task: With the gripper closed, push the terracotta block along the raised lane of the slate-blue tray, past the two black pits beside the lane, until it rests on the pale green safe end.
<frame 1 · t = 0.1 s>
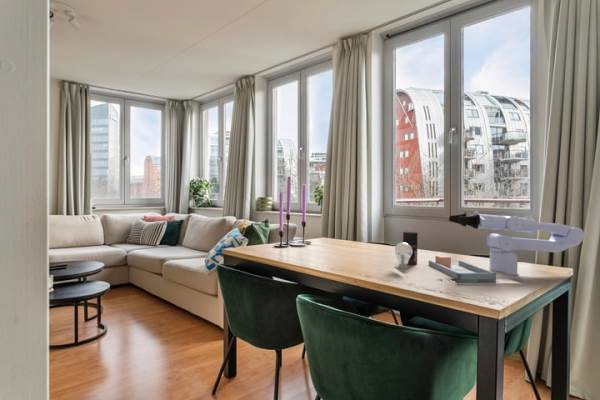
hand: (453, 219, 150), 22 cm above the table, tool horizontal, fingers open, 7 cm apart
block: (443, 267, 155), point 1 cm above the table, touching trap box
light bulb: (403, 272, 153), on the table
trap box: (459, 275, 147), on the table
deodorant: (409, 267, 162), on the table
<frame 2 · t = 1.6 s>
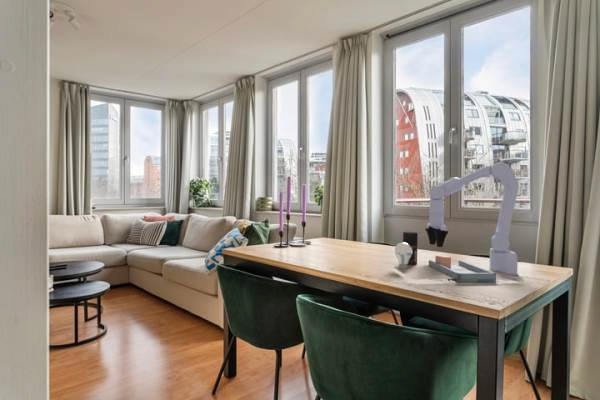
hand: (436, 245, 162), 9 cm above the table, tool pointing down, fingers open, 7 cm apart
nothing on the table moved.
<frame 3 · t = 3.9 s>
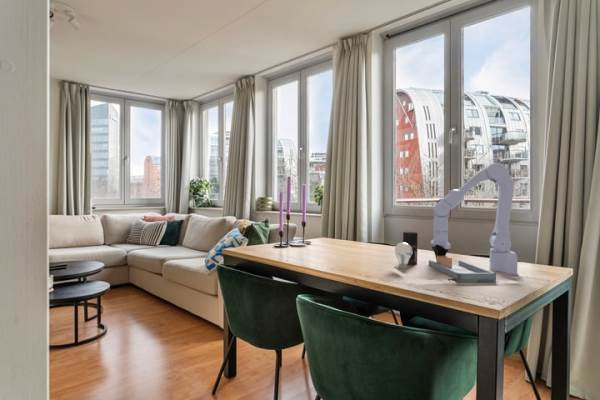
hand: (440, 263, 158), 2 cm above the table, tool pointing down, fingers closed
block: (444, 267, 154), point 2 cm above the table, touching gripper
everything else where it was.
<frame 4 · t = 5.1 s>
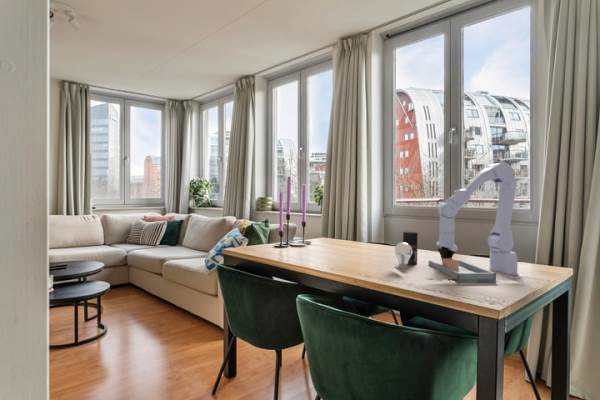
hand: (446, 266, 152), 2 cm above the table, tool pointing down, fingers closed
block: (450, 270, 148), point 2 cm above the table, touching gripper, trap box
everything else where it was.
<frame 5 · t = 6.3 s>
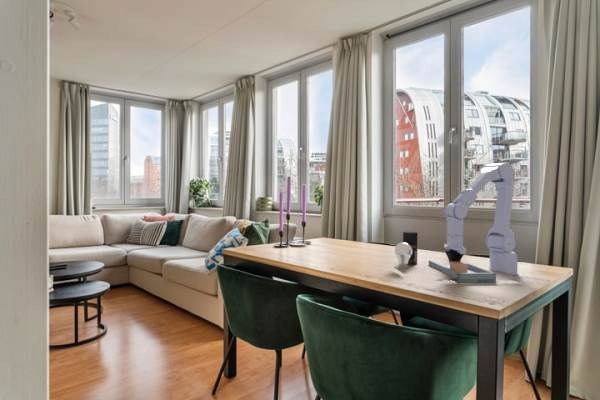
hand: (454, 270, 145), 2 cm above the table, tool pointing down, fingers closed
block: (458, 274, 141), point 2 cm above the table, touching gripper
everything else where it was.
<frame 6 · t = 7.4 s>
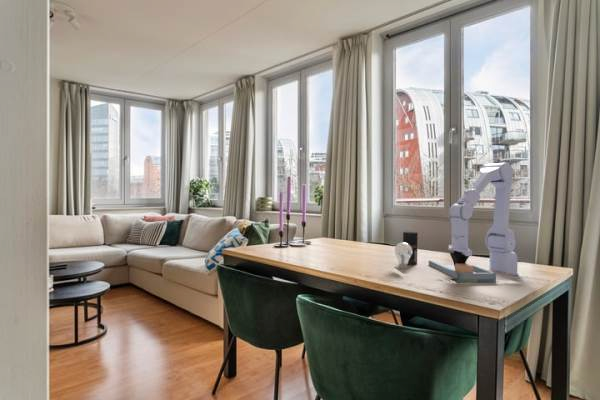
hand: (459, 272, 141), 2 cm above the table, tool pointing down, fingers closed
block: (463, 276, 137), point 2 cm above the table, touching gripper, trap box
everything else where it was.
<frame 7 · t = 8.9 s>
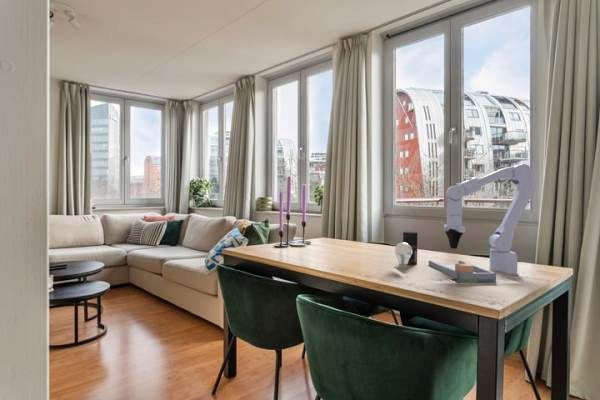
hand: (453, 248, 155), 9 cm above the table, tool pointing down, fingers closed
block: (463, 276, 137), point 1 cm above the table, touching trap box
everything else where it was.
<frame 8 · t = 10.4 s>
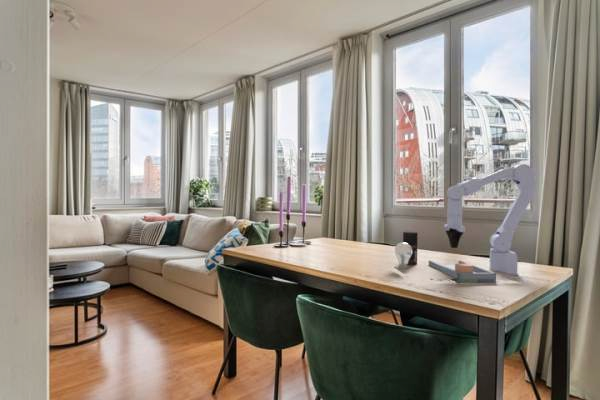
hand: (454, 247, 156), 9 cm above the table, tool pointing down, fingers closed
nothing on the table moved.
at the end: block 0.2 cm from the target spot on the trap box, point 1.5 cm above the trap box's base; block tilted 0° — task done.
